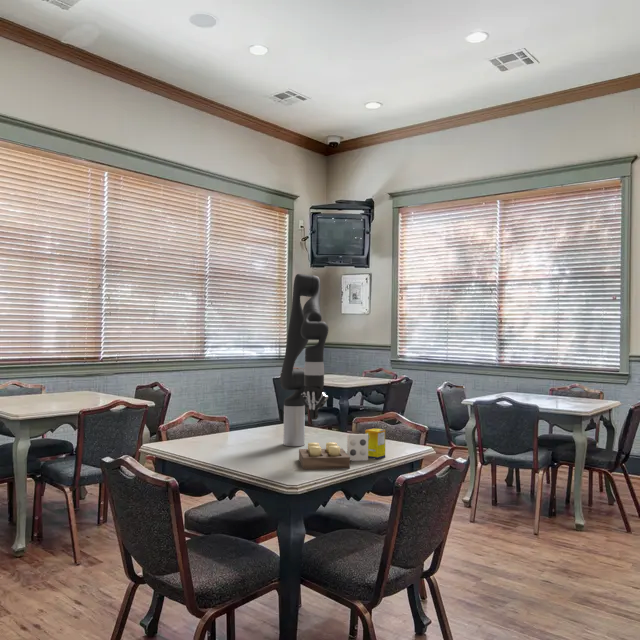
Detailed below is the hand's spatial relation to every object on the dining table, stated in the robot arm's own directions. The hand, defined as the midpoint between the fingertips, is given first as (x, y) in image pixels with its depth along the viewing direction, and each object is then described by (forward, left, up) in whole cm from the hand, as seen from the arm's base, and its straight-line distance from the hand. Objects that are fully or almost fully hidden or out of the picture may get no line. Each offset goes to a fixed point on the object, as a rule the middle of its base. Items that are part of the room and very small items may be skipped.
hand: (313, 419), depth 230 cm
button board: (+3, +3, -16) cm, 17 cm away
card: (-2, +17, -16) cm, 24 cm away
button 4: (+7, +7, -12) cm, 16 cm away
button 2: (+7, 0, -12) cm, 14 cm away
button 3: (0, +7, -12) cm, 14 cm away
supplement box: (-7, +25, -16) cm, 31 cm away
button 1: (0, 0, -12) cm, 12 cm away
